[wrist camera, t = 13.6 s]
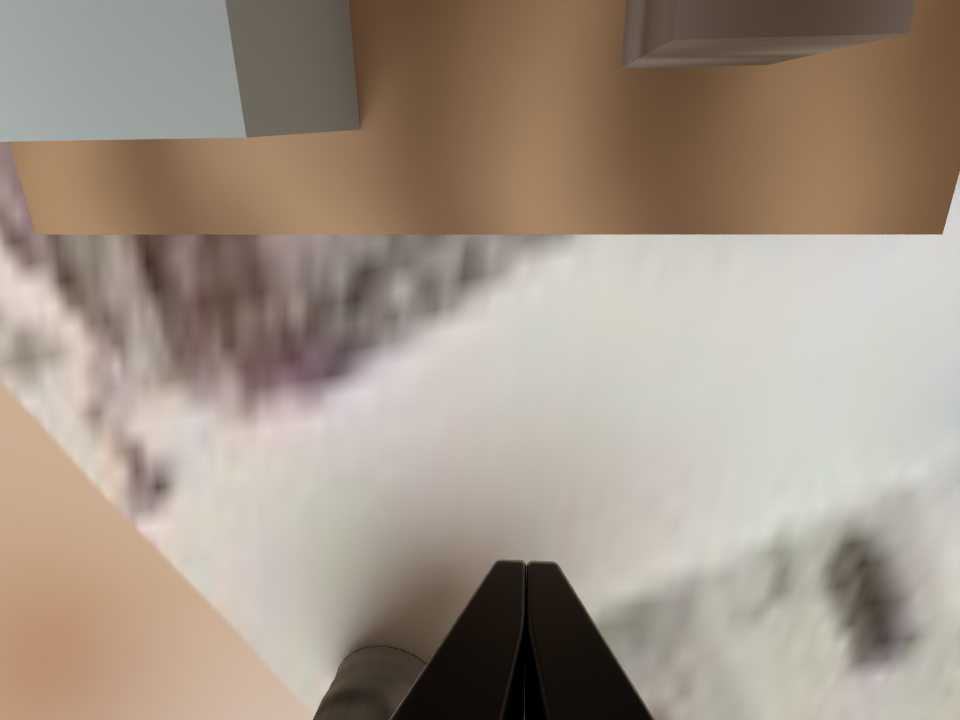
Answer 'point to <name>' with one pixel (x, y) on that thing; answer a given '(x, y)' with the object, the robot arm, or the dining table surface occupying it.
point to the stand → (570, 129)
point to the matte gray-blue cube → (175, 69)
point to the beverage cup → (370, 685)
